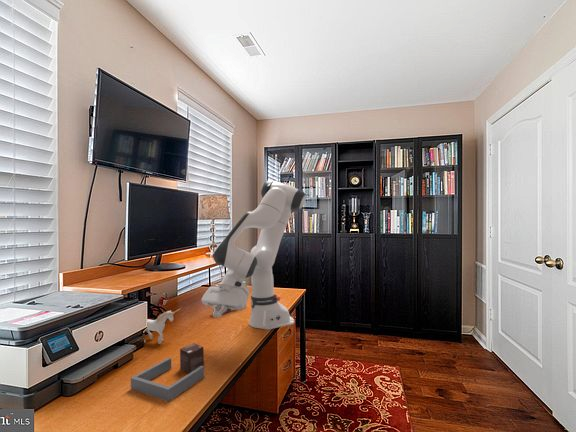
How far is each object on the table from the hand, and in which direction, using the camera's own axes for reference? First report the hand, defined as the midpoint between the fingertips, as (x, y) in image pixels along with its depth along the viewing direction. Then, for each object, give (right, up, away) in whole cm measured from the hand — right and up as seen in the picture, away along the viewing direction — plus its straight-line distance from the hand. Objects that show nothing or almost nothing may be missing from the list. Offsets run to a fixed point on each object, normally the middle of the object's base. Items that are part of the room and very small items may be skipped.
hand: (216, 316), depth 122 cm
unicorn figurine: (-29, -15, +15) cm, 36 cm away
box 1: (-10, -15, -21) cm, 28 cm away
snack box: (-5, -15, +57) cm, 59 cm away
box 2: (-6, -15, -12) cm, 20 cm away
